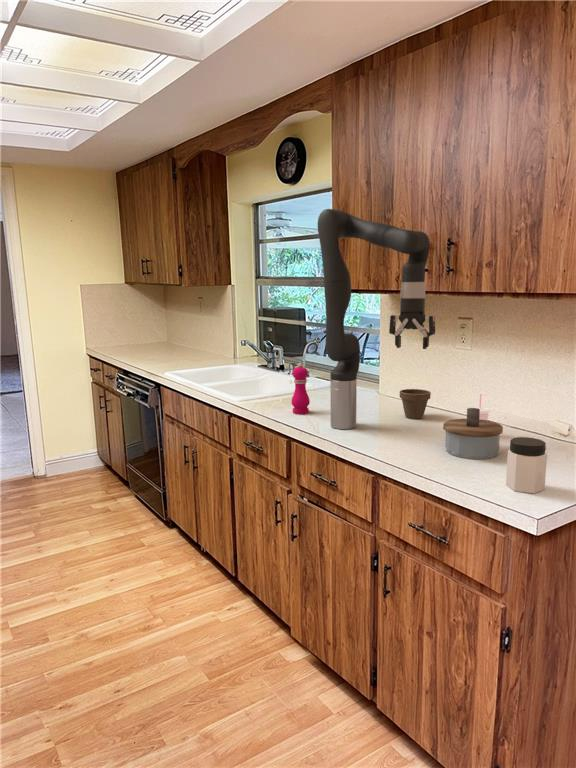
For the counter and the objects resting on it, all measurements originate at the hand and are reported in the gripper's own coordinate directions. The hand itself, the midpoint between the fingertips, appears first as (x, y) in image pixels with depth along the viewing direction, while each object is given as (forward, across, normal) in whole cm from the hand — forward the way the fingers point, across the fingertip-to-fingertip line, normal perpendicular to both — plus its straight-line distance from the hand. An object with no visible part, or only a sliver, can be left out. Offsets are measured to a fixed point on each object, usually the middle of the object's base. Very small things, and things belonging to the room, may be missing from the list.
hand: (411, 348), depth 180 cm
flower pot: (+30, +8, -30) cm, 43 cm away
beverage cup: (+30, -19, -16) cm, 39 cm away
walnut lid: (+23, -21, +4) cm, 31 cm away
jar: (+30, -39, +28) cm, 57 cm away
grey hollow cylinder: (+30, -21, +4) cm, 37 cm away
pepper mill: (+30, +50, -17) cm, 61 cm away
